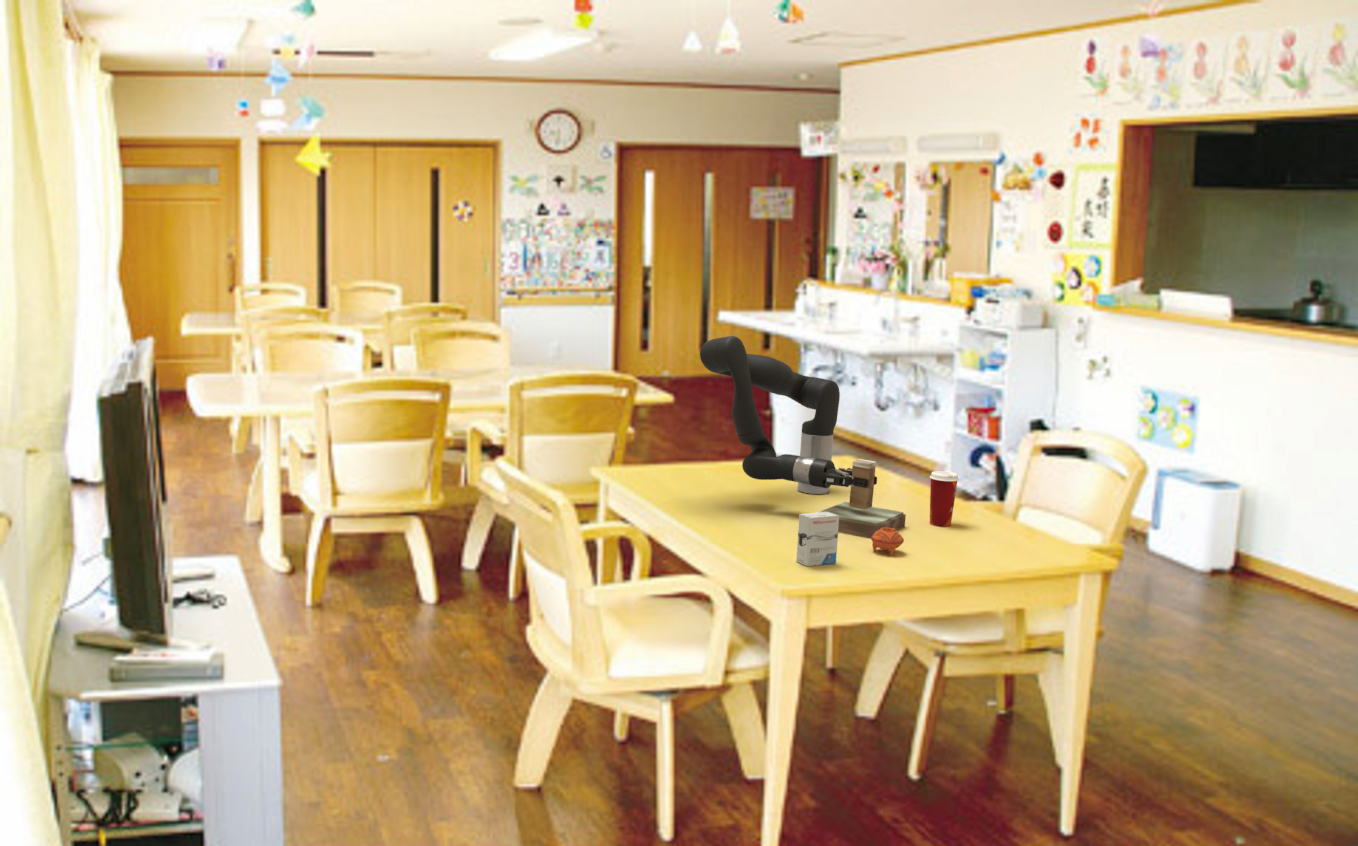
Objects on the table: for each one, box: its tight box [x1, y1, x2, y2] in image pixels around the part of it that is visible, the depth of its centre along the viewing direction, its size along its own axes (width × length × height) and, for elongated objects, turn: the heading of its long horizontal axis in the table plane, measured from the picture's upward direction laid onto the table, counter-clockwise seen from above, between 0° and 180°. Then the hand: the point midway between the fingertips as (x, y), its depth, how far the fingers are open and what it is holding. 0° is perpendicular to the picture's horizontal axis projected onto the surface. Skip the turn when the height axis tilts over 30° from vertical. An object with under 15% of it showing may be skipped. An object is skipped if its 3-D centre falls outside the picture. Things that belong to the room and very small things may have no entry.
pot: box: [870, 527, 905, 556], centre depth 342 cm, size 8×8×7 cm
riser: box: [816, 501, 907, 539], centre depth 366 cm, size 18×18×4 cm
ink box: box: [796, 511, 839, 567], centre depth 328 cm, size 8×5×12 cm, turn 118°
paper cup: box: [929, 470, 960, 528], centre depth 374 cm, size 8×8×14 cm
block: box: [848, 458, 877, 510], centre depth 364 cm, size 5×5×12 cm
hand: (872, 482), depth 363 cm, fingers closed on block, 4 cm apart
